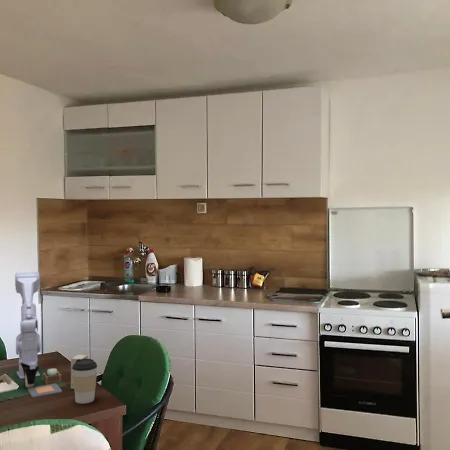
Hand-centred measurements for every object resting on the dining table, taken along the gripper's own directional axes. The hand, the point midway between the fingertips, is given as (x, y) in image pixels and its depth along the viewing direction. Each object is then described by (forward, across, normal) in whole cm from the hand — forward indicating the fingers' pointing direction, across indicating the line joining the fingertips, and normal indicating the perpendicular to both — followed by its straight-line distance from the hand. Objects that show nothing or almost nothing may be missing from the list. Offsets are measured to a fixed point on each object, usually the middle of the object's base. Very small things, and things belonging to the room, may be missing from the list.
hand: (29, 382), depth 203 cm
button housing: (+2, -1, +9) cm, 9 cm away
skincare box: (+2, +11, +17) cm, 20 cm away
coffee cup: (+2, +26, +15) cm, 30 cm away
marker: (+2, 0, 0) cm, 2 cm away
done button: (0, -1, +9) cm, 9 cm away
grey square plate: (+2, +9, +4) cm, 10 cm away
